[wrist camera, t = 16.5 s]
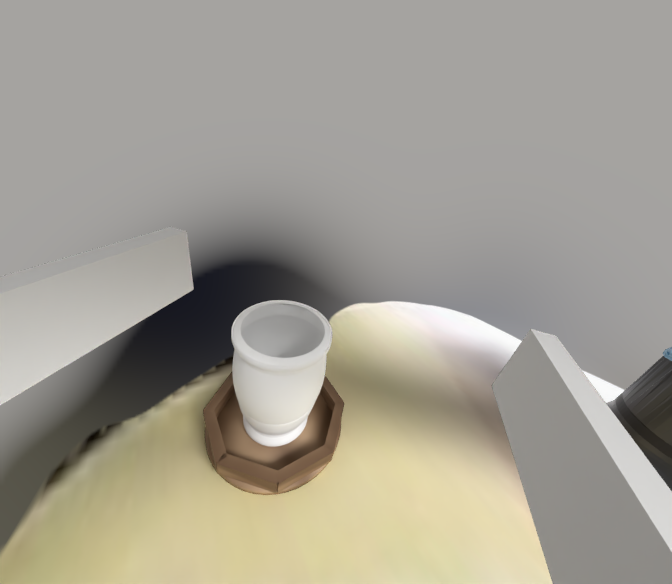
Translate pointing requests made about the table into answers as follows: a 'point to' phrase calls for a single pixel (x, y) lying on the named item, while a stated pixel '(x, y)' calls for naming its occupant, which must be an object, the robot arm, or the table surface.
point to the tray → (264, 461)
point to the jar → (278, 367)
